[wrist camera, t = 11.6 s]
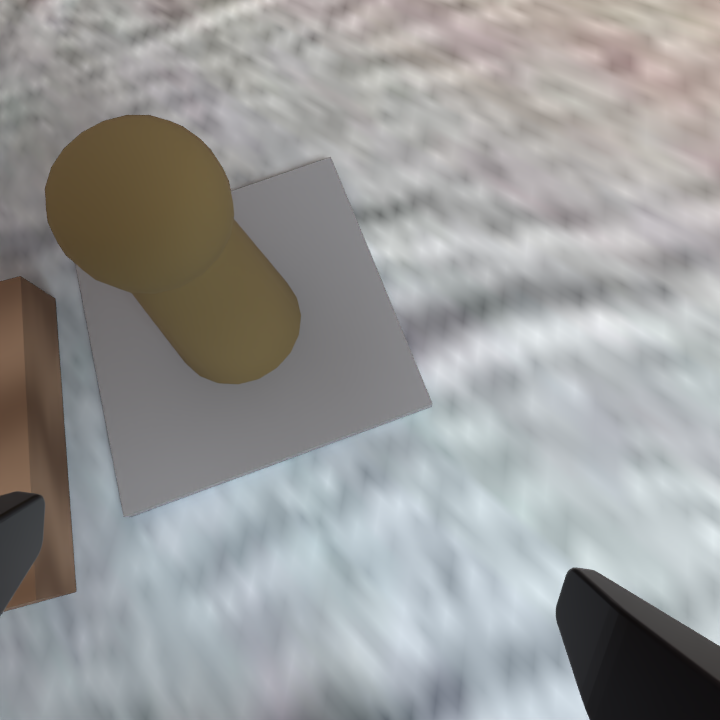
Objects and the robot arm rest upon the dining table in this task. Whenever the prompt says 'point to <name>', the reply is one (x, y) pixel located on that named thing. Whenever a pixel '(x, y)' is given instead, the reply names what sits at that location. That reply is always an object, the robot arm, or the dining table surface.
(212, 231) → the cork
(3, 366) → the socket block
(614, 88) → the dining table surface
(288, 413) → the grey mat
